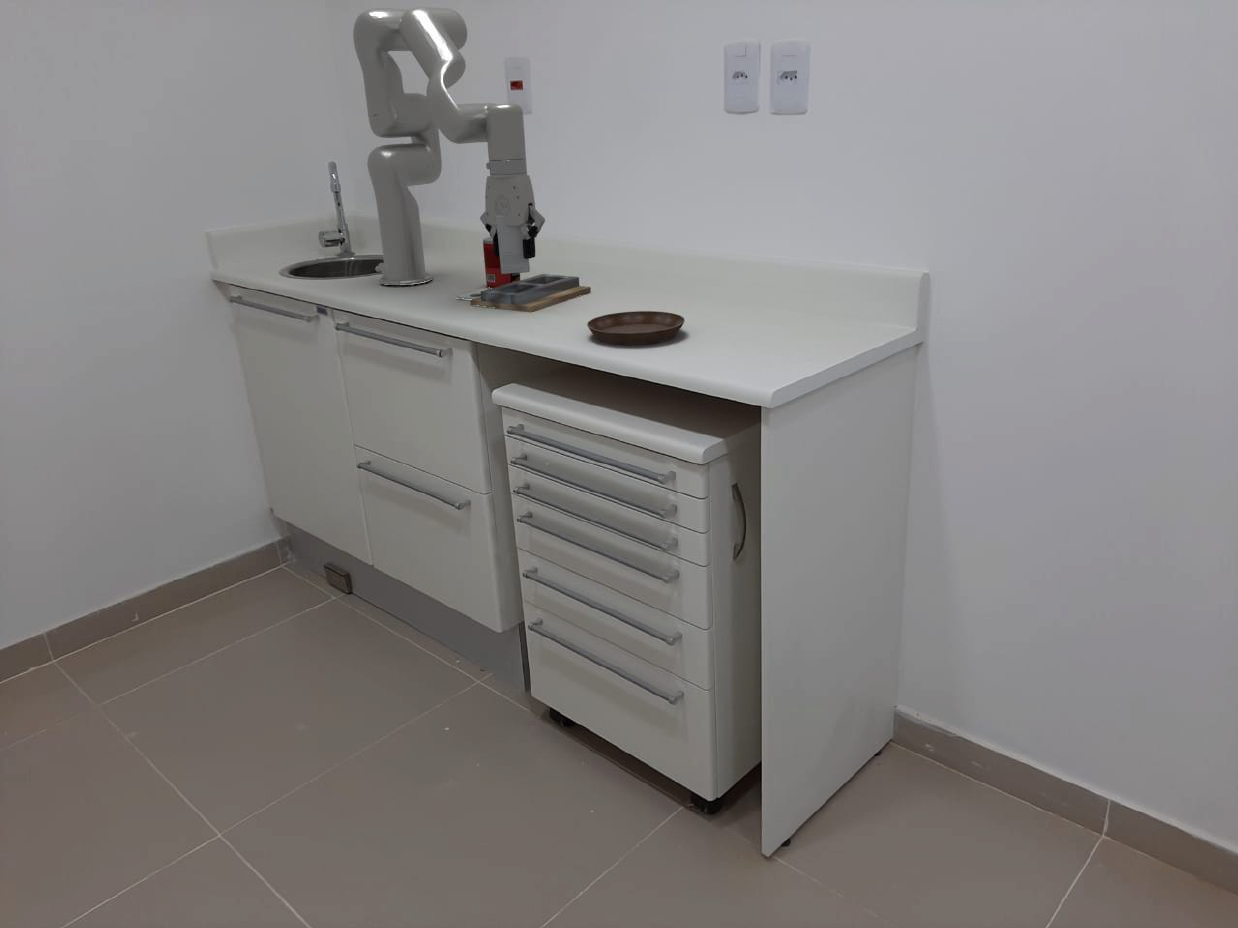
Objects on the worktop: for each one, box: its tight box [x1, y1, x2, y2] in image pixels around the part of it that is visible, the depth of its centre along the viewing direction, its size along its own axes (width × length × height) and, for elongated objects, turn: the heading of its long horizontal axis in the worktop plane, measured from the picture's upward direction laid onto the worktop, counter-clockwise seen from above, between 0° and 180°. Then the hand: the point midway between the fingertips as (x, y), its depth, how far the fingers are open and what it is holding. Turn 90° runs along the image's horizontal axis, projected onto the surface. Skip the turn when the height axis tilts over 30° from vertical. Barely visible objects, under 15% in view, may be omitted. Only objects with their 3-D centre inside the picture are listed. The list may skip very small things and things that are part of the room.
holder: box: [469, 273, 592, 313], centre depth 209 cm, size 16×22×3 cm
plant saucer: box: [586, 310, 685, 346], centre depth 175 cm, size 18×18×3 cm
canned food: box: [482, 236, 521, 289], centre depth 222 cm, size 8×8×11 cm
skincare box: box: [496, 215, 531, 274], centre depth 201 cm, size 6×4×12 cm
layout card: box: [455, 287, 489, 299], centre depth 214 cm, size 7×10×1 cm
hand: (514, 256), depth 202 cm, fingers closed on skincare box, 7 cm apart
